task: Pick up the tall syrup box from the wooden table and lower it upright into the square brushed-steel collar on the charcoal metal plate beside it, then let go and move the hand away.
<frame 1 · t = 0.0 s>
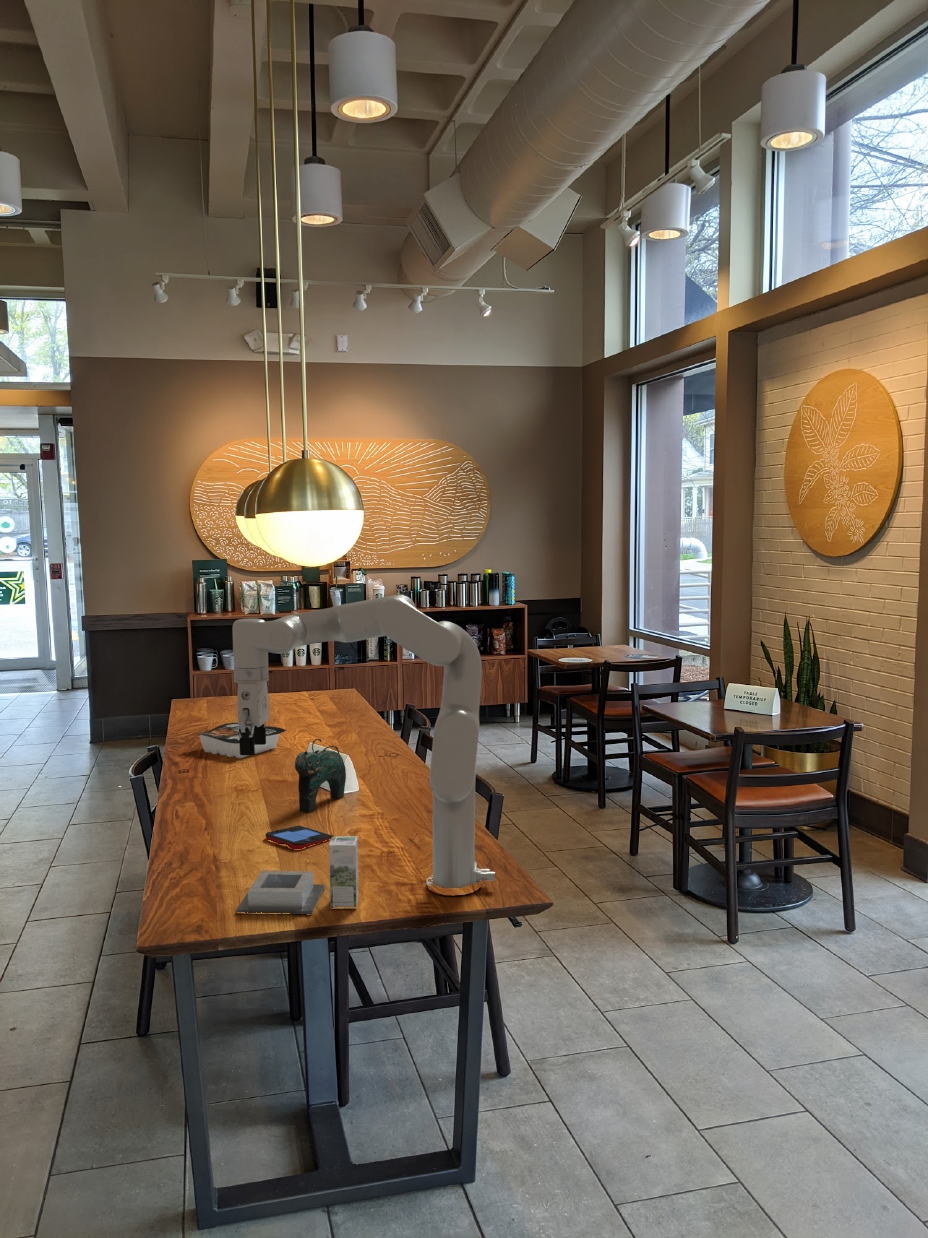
hand: (253, 749, 208), 31 cm above the table, tool pointing down, fingers open, 9 cm apart
syrup box: (344, 906, 199), on the table
food packaging: (239, 751, 335), on the table
game console: (298, 841, 241), on the table
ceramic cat: (320, 804, 271), on the table
steel collar: (281, 901, 201), on the table
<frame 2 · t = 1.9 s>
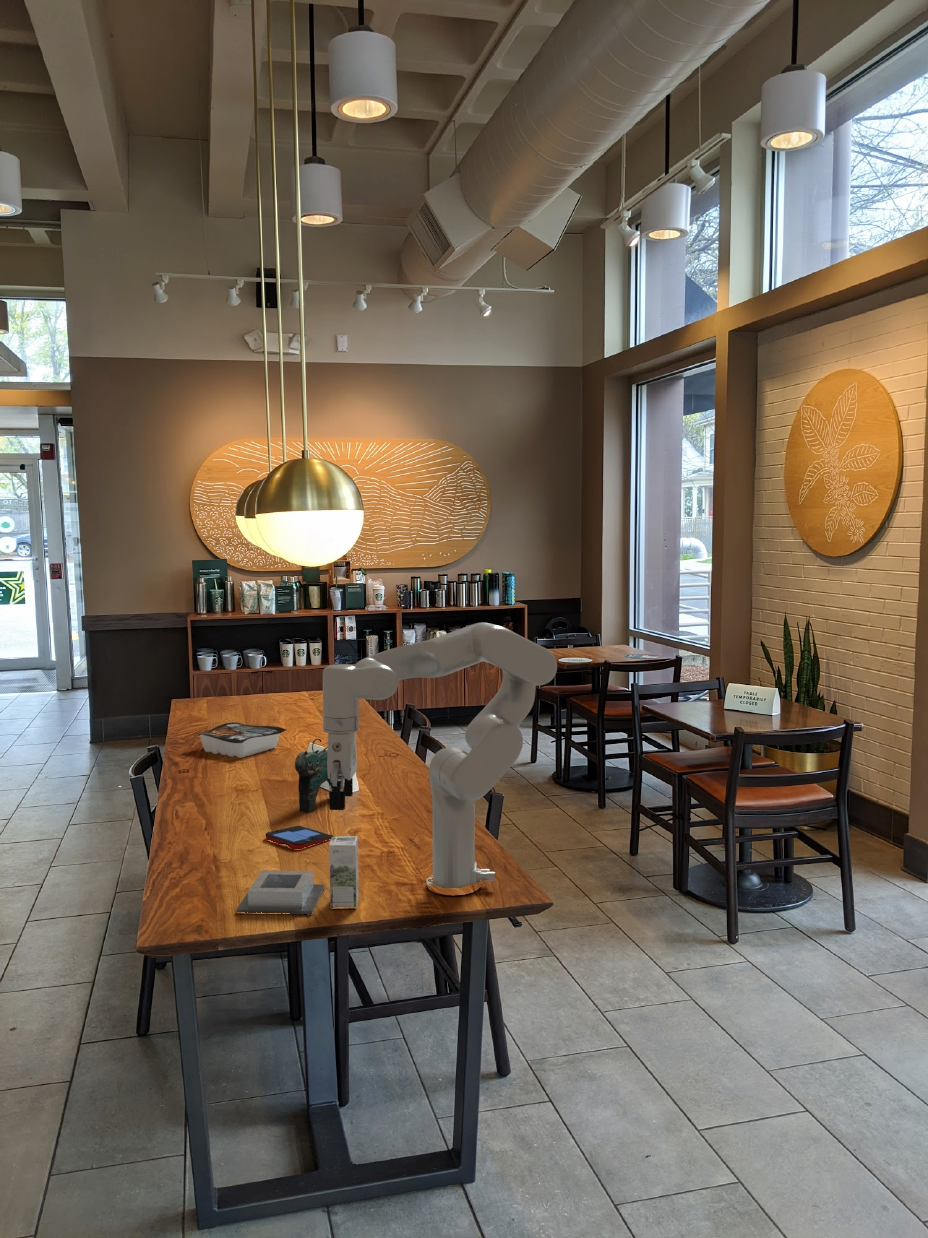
hand: (341, 802, 197), 23 cm above the table, tool pointing down, fingers open, 9 cm apart
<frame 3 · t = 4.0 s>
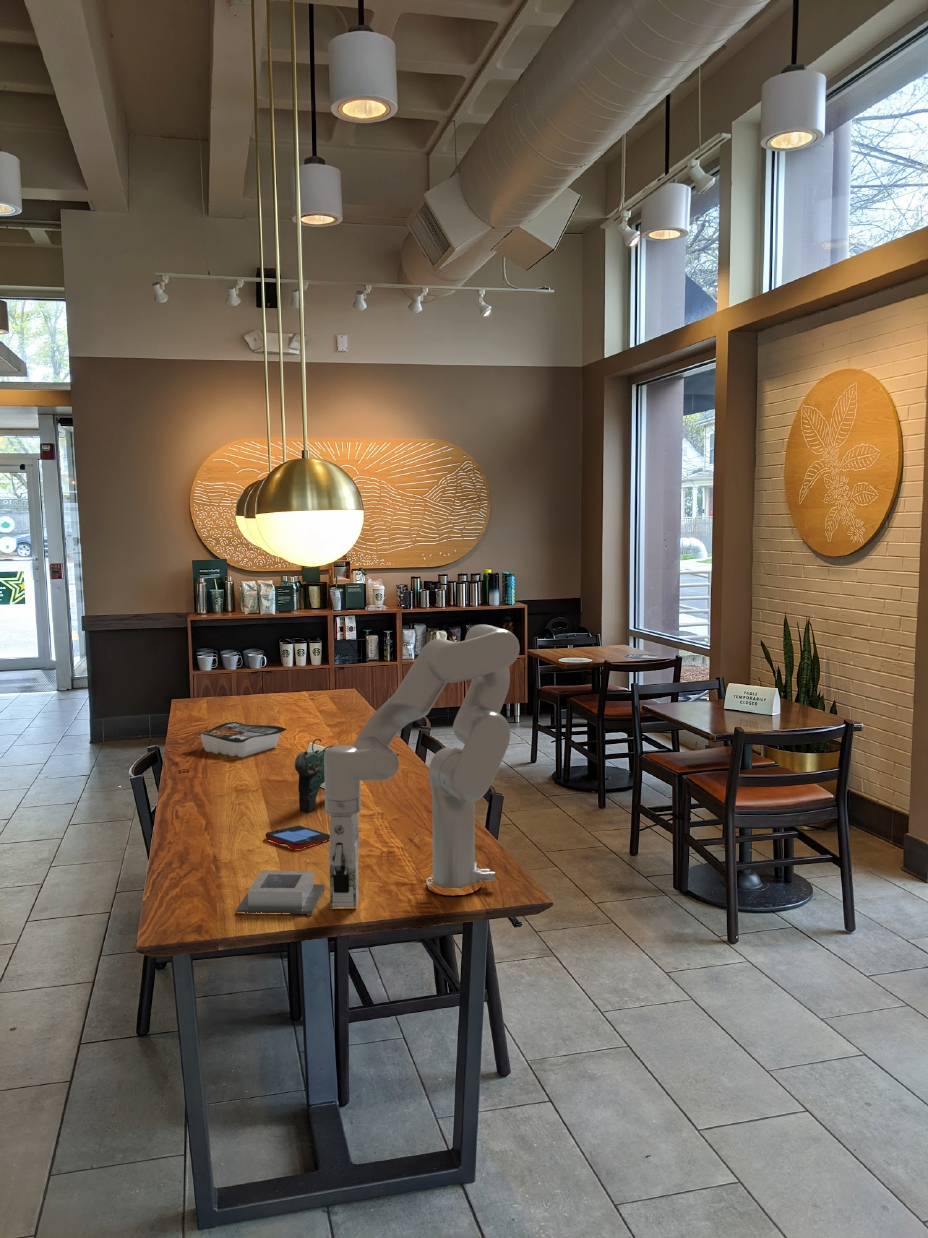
hand: (344, 885, 199), 4 cm above the table, tool pointing down, fingers closed on syrup box, 6 cm apart
syrup box: (344, 905, 199), on the table, touching gripper
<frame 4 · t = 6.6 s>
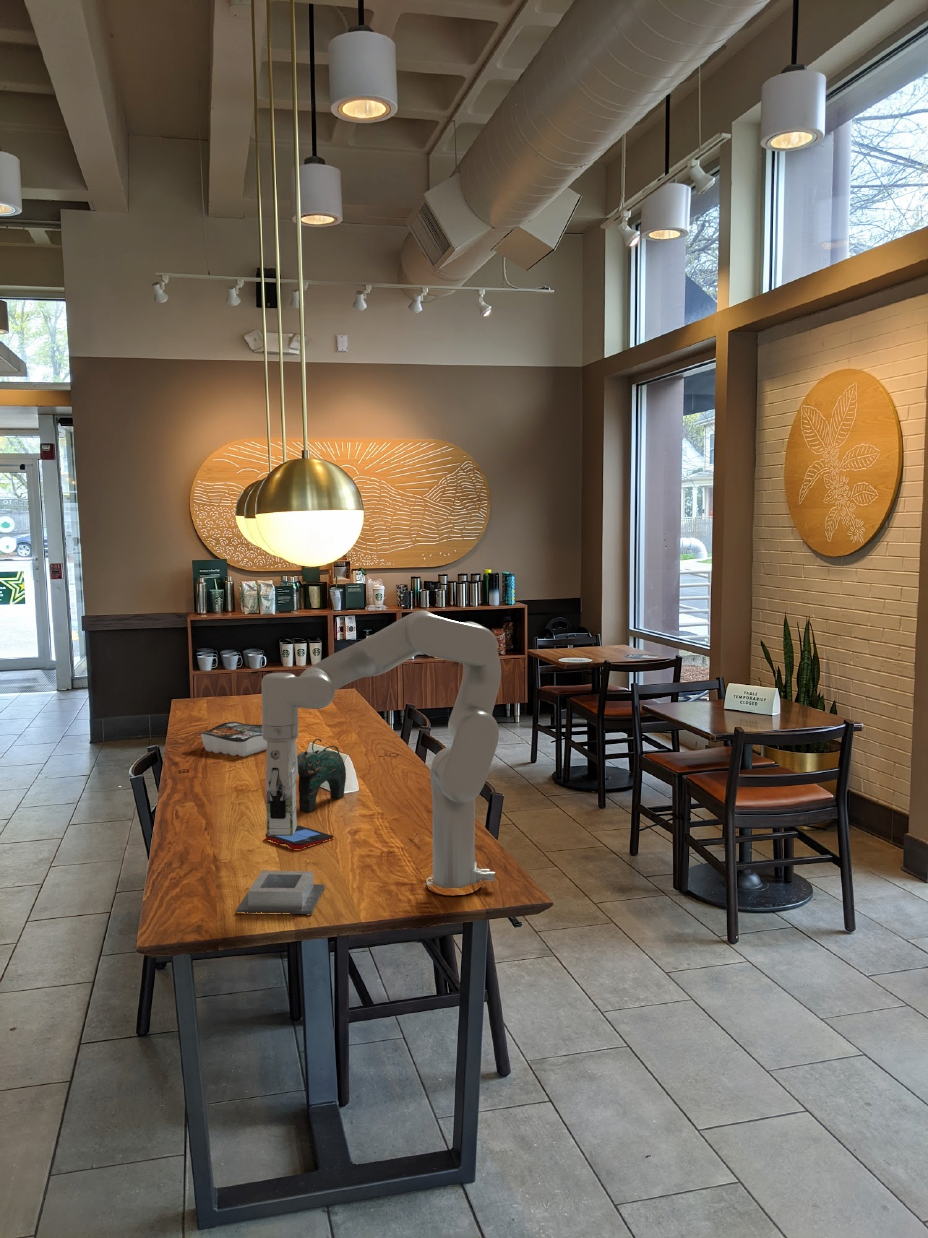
hand: (281, 812, 199), 20 cm above the table, tool pointing down, fingers closed on syrup box, 6 cm apart
syrup box: (281, 833, 200), point 15 cm above the table, touching gripper
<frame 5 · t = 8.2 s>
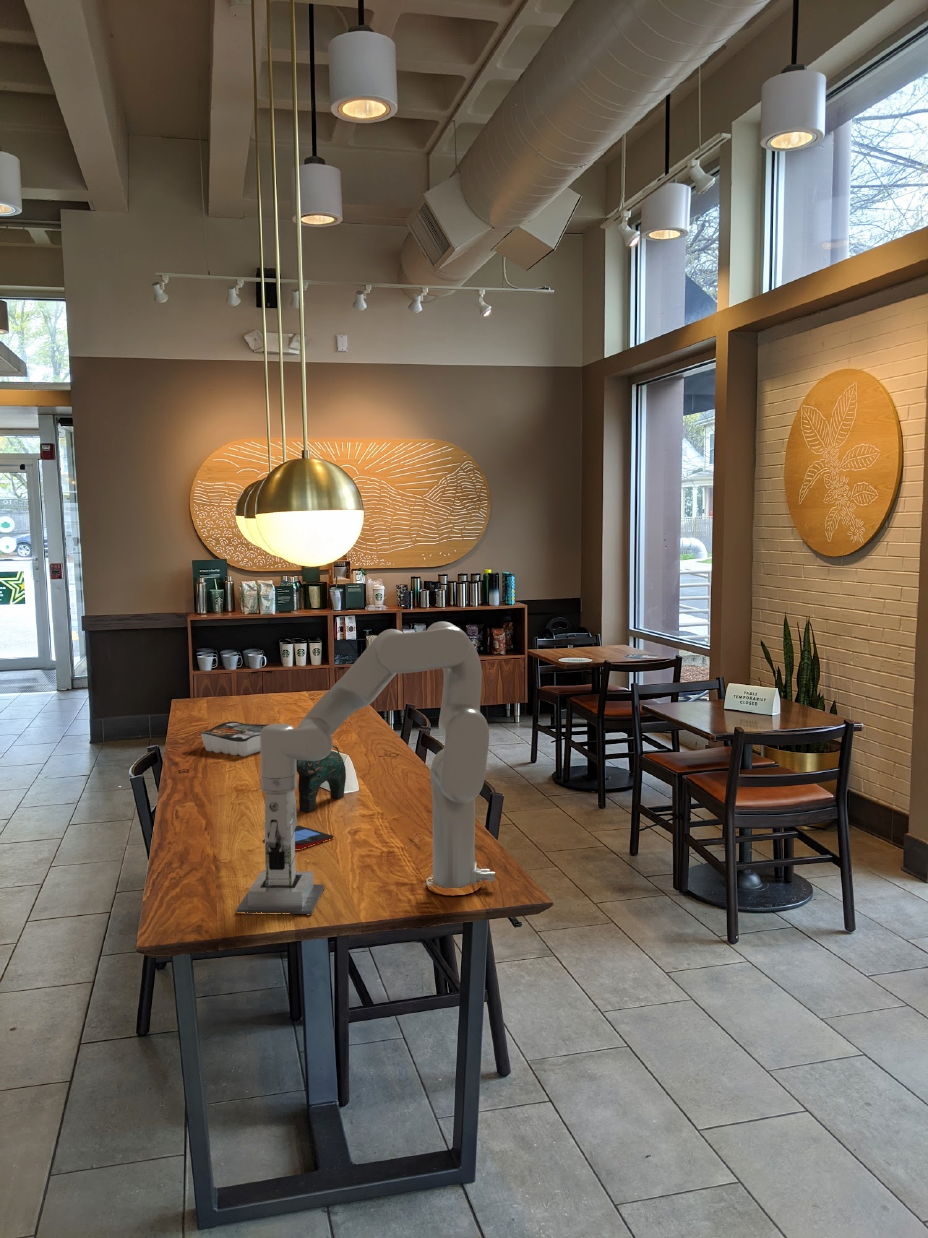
hand: (280, 862, 200), 9 cm above the table, tool pointing down, fingers closed on syrup box, 6 cm apart
syrup box: (280, 883, 201), point 4 cm above the table, touching gripper
when the fingers open (6 cm above the table, at t = 9.5 s): syrup box stays where it is, resting on steel collar.
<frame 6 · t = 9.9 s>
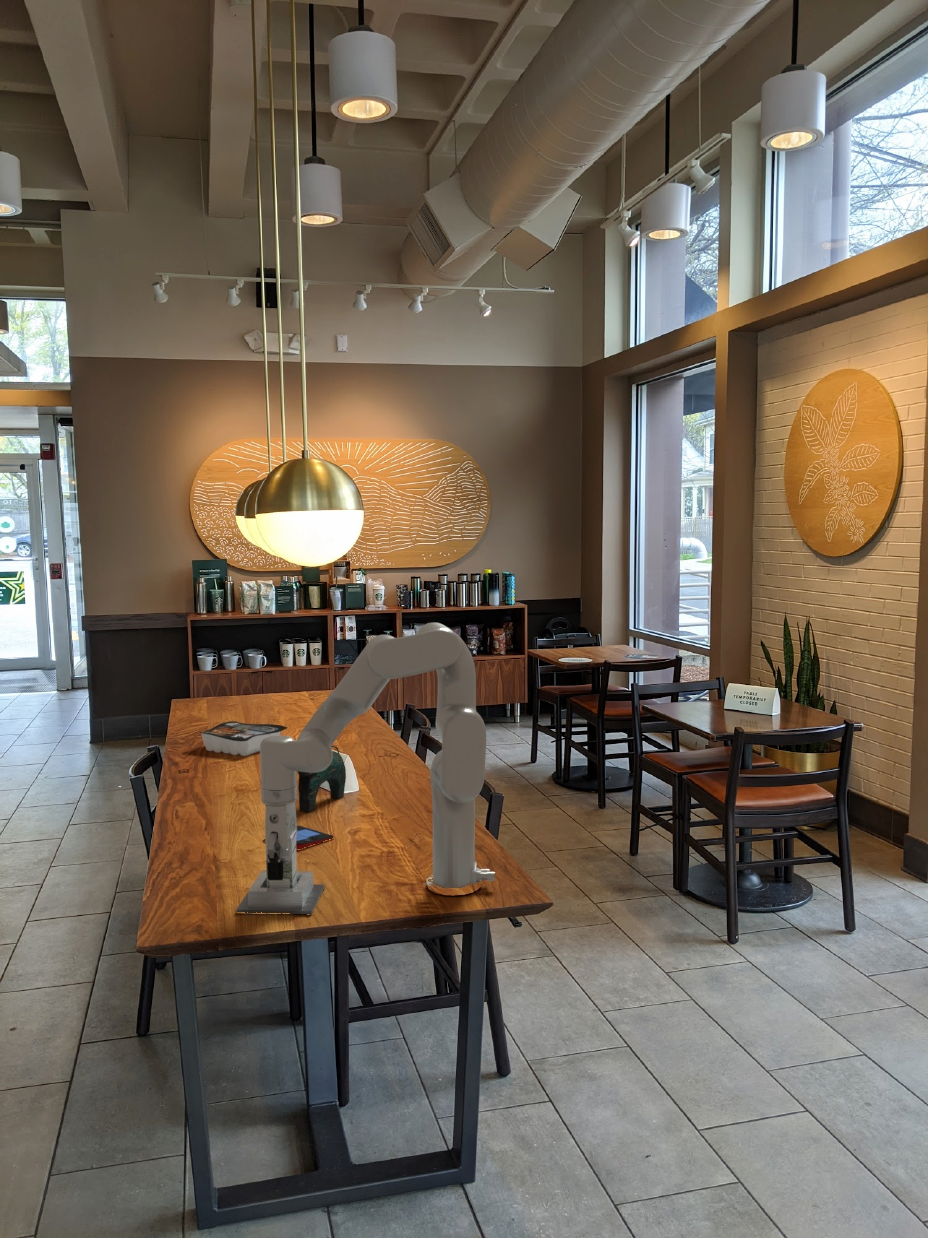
hand: (281, 871, 201), 7 cm above the table, tool pointing down, fingers open, 9 cm apart
syrup box: (282, 897, 201), point 1 cm above the table, touching steel collar
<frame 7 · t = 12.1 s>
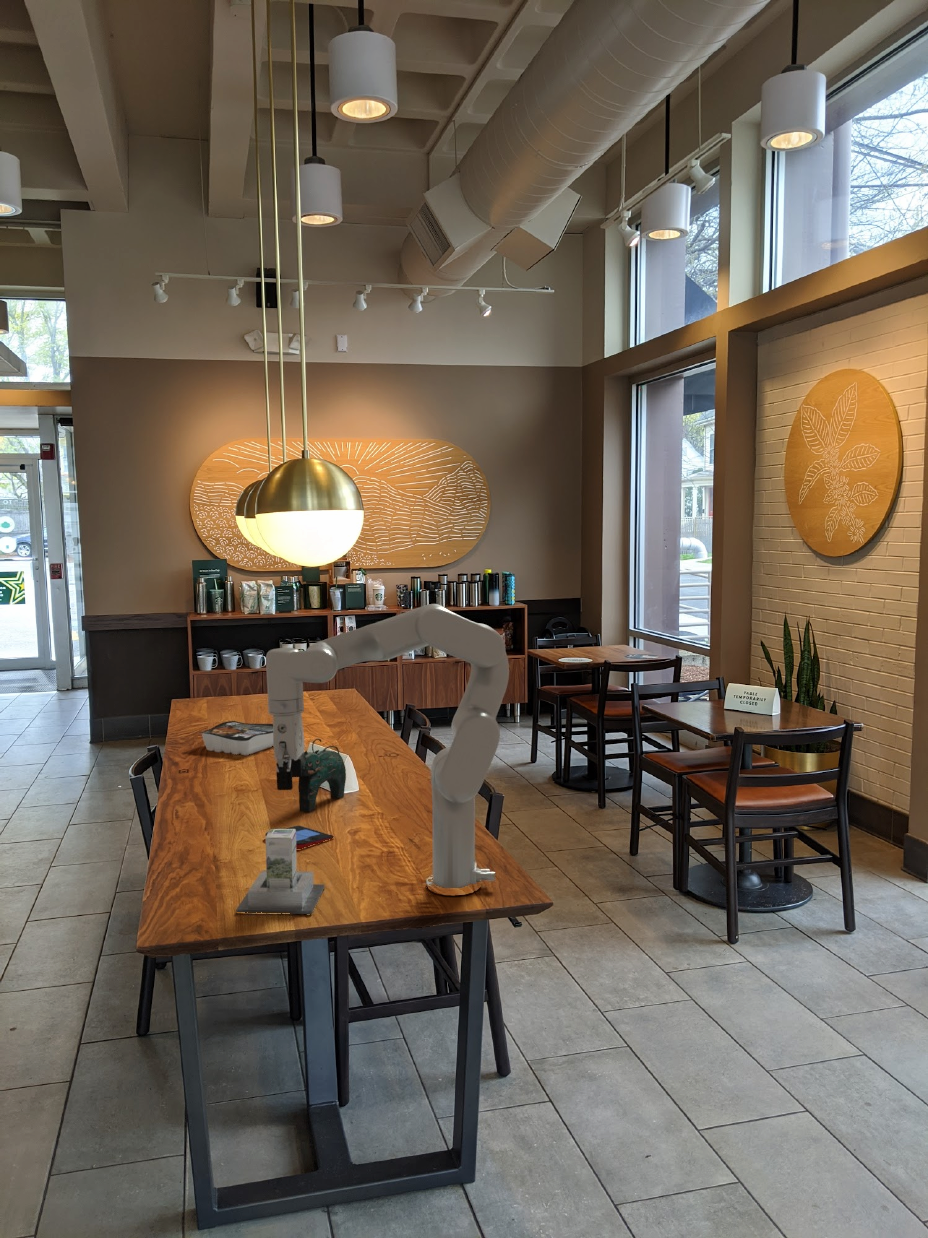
hand: (289, 783, 201), 26 cm above the table, tool pointing down, fingers open, 9 cm apart
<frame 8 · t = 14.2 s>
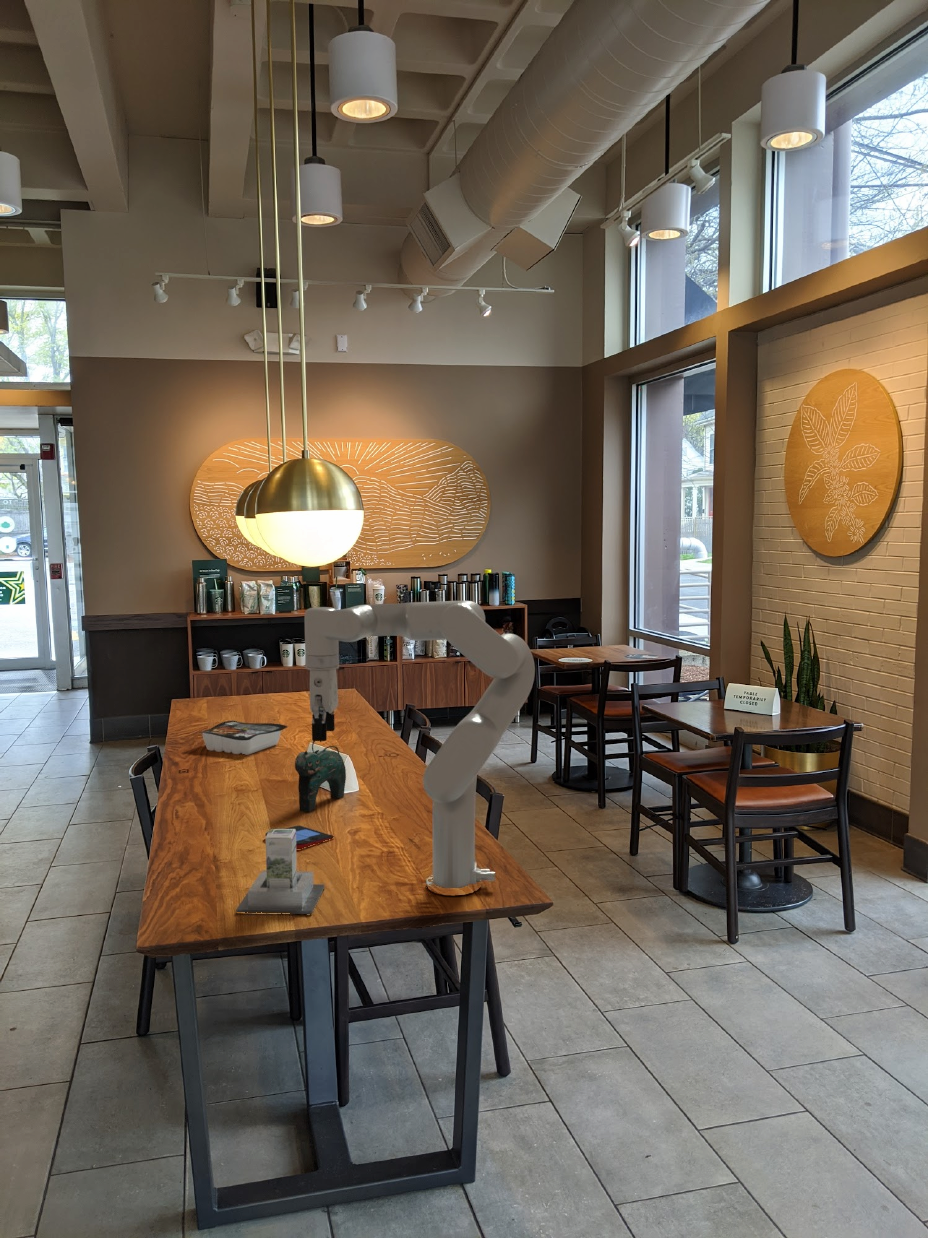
hand: (323, 735, 212), 33 cm above the table, tool pointing down, fingers open, 9 cm apart
at the end: syrup box 0.2 cm off-centre on the steel collar, point 0.8 cm above the steel collar's base; syrup box tilted 0°; the gripper is holding nothing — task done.
